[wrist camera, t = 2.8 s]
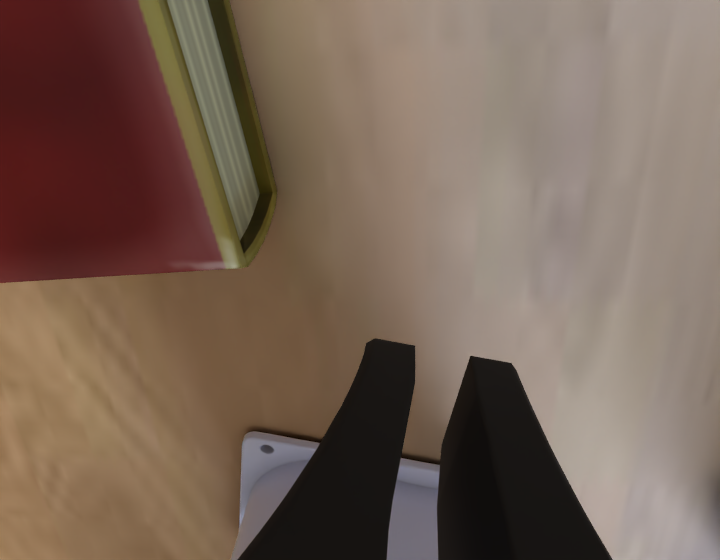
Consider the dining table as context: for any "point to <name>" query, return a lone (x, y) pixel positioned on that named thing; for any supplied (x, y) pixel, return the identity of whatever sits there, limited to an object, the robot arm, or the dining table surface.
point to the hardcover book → (127, 140)
